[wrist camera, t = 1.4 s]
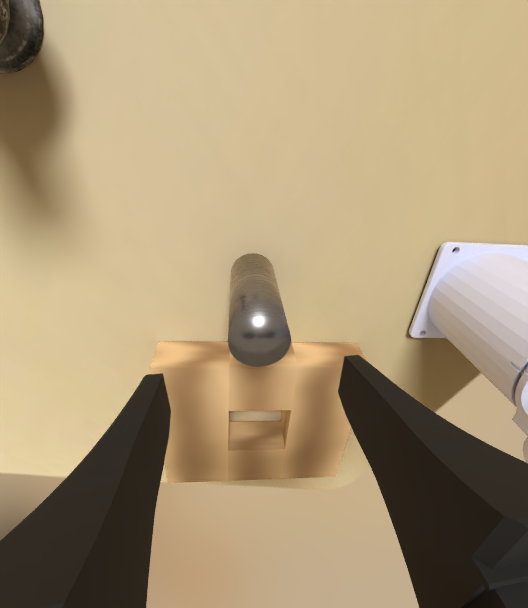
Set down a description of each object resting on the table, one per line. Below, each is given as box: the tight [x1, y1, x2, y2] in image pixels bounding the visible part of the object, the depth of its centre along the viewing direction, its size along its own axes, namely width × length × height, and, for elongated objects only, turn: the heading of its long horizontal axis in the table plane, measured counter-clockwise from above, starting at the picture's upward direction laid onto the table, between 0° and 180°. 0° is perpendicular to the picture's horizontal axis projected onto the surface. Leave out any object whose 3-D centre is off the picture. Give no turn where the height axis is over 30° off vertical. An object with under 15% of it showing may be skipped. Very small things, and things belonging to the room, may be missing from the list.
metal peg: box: [228, 254, 291, 367], centre depth 18 cm, size 3×3×8 cm
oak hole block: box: [150, 341, 367, 483], centre depth 26 cm, size 16×14×3 cm
